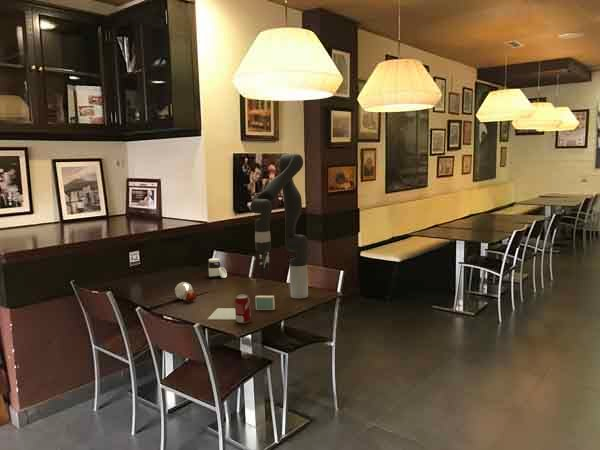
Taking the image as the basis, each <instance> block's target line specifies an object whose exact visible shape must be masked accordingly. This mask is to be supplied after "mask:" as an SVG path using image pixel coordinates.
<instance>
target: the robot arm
mask: <svg viewBox="0 0 600 450" xmlns="http://www.w3.org/2000/svg"><path fill="white" fill-rule="evenodd" d="M303 165H304V159H303V156H302V155H301V154H299V153H283V154H281V156H280V158H279V171H280V173H279V174H278V175H277V176H275V177H273V178H272V179H271V180H270V181H269V182H268V184H267V185H266V186H265V188H264V190H263V191H261V192H260V193H259V194H257V196H255V197H254V198H253V199H252V200H251V203H250V210H251V212H252V213H254V214H258V215H260V218H257V219H255V221H254V229H255V230H254V233H255V234H254V244H255V251H256V252H259V254H258V255H257V260H258V261H257V263H258V268H259V272H260V273H259V274H260V276H263V277H264V276H265V275H266V272H269V264H270V251H271V250H272V238H271V231H270V229H271V228H270V227H271V226H270V221H271V217H272V216H271V215H272V211H273V206H272V205H273V204H272V202H273V201H275V200H276V198H277V197H278V196H279V194H280V193H281V191H283V207H284V219H285V221H284V222H285V229H284V231H285V233H284V234H285V235H284V238H285V239H284V241H285V242H284V243H285V244H284V245H285V249H286V250H287V251H288V252H292V253H293V252H295V253H296V256H295V257H292V258H290V259H289V260H288V261H289V280H290V282H289V284H290V286H289V288H290V297H291V298H292V299H299V300H300V299H305V298H308V297H309V287H308V286H309V284H308V283H309V282H308V281H309V280H308V260H309V255H308V254H309V240H308V238H307V236H306V235H303V234H296V226H297V222H298V220H299V218H300V216H301V214H302V209H303V204H302V203H303V201H302V195H301V193H300V191H299V189H298V187H296V184H295V182H294V179H293V178H294V177H295V176H296V175H297V174H298V173H299V172H300V171H301V169H303Z"/></svg>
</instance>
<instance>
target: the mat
mask: <svg viewBox="0 0 600 450" xmlns="http://www.w3.org/2000/svg"><path fill="white" fill-rule="evenodd" d="M207 321H236V313H235V307H232V308H231V307H230V308H229V307H228V308H226V307H225V308H223V307H220V308H219V307H217V308H216V309H215V310H214V311H213V312H212V313H211V315H209V316H208V318H207Z"/></svg>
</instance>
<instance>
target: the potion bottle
mask: <svg viewBox="0 0 600 450" xmlns="http://www.w3.org/2000/svg"><path fill="white" fill-rule="evenodd" d="M174 293H175V295H176V298H178V299H180V300H182V299H183V301H186V302H188V303H190V304H192V303H193V302H194V301H195V300H196V299H197V295H196V292H195V290H194V289H193V287H192V285H191V284H190V283H189V282H186V281H181V282H180V283H178V284H176V286H175V288H174Z"/></svg>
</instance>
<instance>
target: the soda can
mask: <svg viewBox="0 0 600 450" xmlns="http://www.w3.org/2000/svg"><path fill="white" fill-rule="evenodd" d="M234 308H235V313H236V320H235V322H236V323H238V324H247V323H249V322H251V320H252V315H251V299H250V297H249V295H248V294H239V295H236V296H235V300H234Z"/></svg>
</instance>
